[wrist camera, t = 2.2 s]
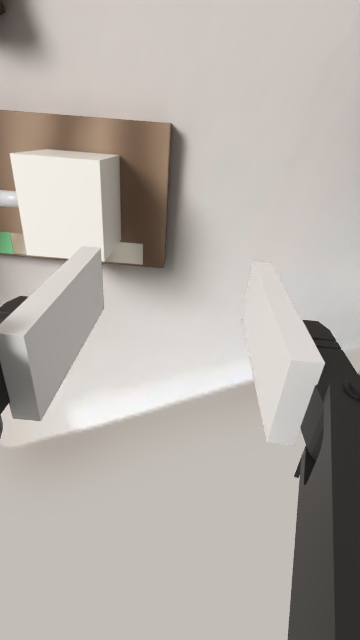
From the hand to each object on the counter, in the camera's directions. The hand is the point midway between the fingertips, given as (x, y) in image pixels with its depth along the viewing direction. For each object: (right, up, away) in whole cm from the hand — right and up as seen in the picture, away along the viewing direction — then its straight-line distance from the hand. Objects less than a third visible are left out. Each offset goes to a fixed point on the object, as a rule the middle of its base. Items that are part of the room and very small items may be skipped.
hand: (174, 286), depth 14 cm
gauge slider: (-10, +8, +16) cm, 20 cm away
